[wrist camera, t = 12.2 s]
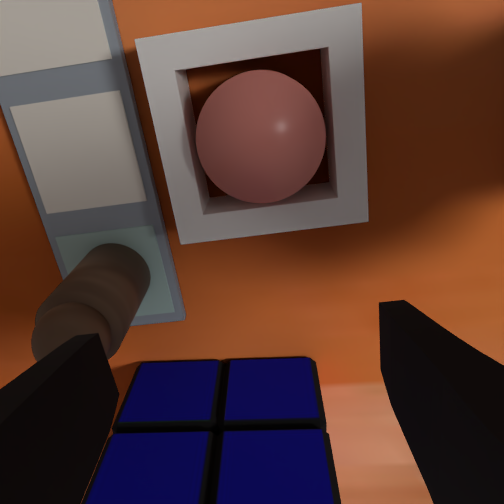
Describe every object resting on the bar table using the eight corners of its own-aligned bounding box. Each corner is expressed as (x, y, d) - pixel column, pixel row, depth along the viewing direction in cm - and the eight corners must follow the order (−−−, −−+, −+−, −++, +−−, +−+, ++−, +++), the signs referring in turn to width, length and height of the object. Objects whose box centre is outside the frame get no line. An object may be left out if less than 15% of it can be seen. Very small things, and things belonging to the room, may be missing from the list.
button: (311, 60, 17) (320, 60, 15) (320, 176, 19) (330, 194, 17) (196, 78, 18) (183, 81, 15) (216, 190, 20) (208, 210, 17)
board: (87, -104, 16) (80, -110, 15) (186, 314, 23) (184, 321, 22) (-57, -77, 16) (-68, -82, 16) (85, 325, 23) (80, 332, 23)
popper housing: (348, 10, 17) (361, 2, 15) (356, 203, 20) (368, 221, 18) (151, 42, 18) (134, 39, 15) (189, 224, 21) (180, 244, 18)
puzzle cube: (315, 353, 24) (348, 535, 15) (314, 479, 28) (340, 684, 19) (137, 359, 24) (60, 539, 15) (162, 482, 28) (113, 684, 19)
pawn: (141, 239, 20) (90, 316, 14) (157, 300, 22) (116, 395, 16) (73, 247, 21) (-8, 327, 14) (92, 307, 22) (26, 404, 16)
